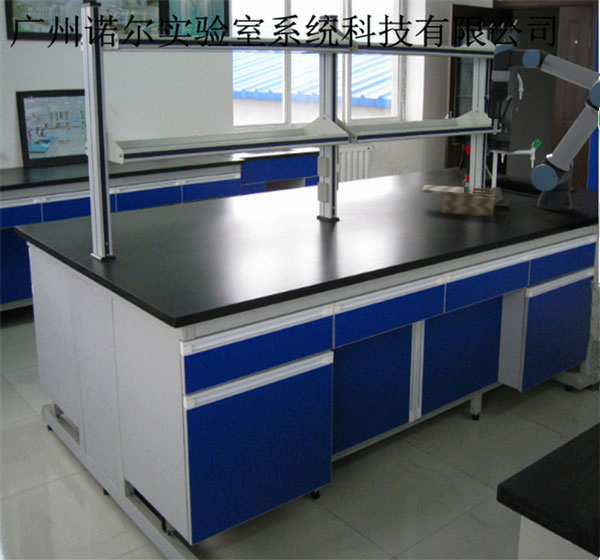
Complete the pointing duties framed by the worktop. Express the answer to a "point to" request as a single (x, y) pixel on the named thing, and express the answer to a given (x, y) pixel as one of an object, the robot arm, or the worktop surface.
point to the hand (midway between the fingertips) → (494, 134)
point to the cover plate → (446, 189)
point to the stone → (499, 197)
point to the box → (469, 202)
